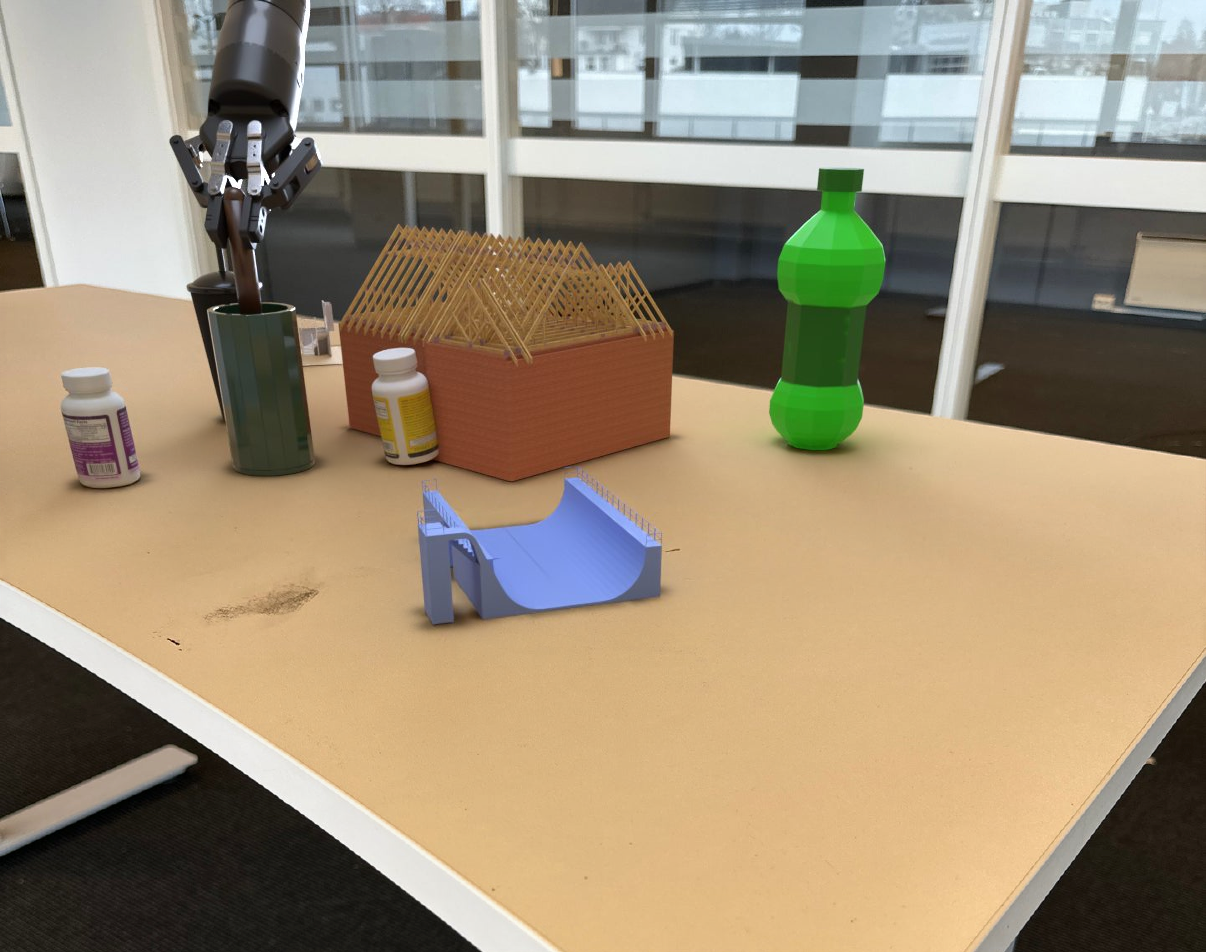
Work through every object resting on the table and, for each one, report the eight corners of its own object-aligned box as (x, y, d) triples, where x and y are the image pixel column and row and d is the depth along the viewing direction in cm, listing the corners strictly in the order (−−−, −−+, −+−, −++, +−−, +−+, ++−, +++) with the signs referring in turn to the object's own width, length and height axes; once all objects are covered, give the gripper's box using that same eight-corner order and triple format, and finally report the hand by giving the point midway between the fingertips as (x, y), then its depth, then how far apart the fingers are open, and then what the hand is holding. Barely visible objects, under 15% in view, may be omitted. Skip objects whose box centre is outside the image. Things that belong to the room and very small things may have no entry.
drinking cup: (269, 407, 128) (240, 211, 118) (289, 421, 123) (262, 217, 112) (201, 415, 125) (166, 214, 115) (220, 429, 120) (184, 219, 109)
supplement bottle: (447, 447, 111) (430, 344, 105) (430, 466, 107) (411, 360, 101) (396, 447, 112) (376, 346, 107) (377, 467, 108) (356, 362, 102)
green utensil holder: (216, 470, 106) (188, 311, 99) (267, 451, 112) (245, 300, 105) (281, 480, 104) (257, 317, 96) (330, 460, 110) (311, 305, 102)
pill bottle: (113, 470, 106) (88, 363, 101) (153, 478, 104) (131, 368, 99) (66, 484, 102) (38, 373, 97) (107, 492, 100) (81, 379, 95)
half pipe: (660, 598, 80) (663, 498, 76) (433, 627, 75) (424, 522, 71) (578, 523, 94) (577, 436, 90) (383, 544, 89) (374, 453, 85)
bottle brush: (233, 429, 105) (195, 187, 95) (263, 419, 109) (229, 184, 98) (271, 434, 104) (236, 188, 93) (300, 424, 107) (270, 186, 96)
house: (673, 437, 118) (681, 234, 108) (514, 482, 103) (506, 252, 93) (492, 397, 134) (484, 216, 124) (332, 431, 119) (308, 229, 109)
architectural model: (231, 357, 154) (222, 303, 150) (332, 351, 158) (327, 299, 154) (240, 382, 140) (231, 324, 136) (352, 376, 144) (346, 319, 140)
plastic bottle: (752, 432, 120) (773, 166, 107) (848, 431, 121) (880, 166, 108) (774, 457, 112) (799, 171, 99) (876, 455, 113) (914, 171, 100)
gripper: (165, 38, 97) (134, 208, 93) (322, 40, 96) (297, 212, 92) (199, 110, 104) (172, 271, 100) (345, 112, 103) (323, 274, 99)
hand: (232, 242), depth 96 cm, fingers closed on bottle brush, 2 cm apart
